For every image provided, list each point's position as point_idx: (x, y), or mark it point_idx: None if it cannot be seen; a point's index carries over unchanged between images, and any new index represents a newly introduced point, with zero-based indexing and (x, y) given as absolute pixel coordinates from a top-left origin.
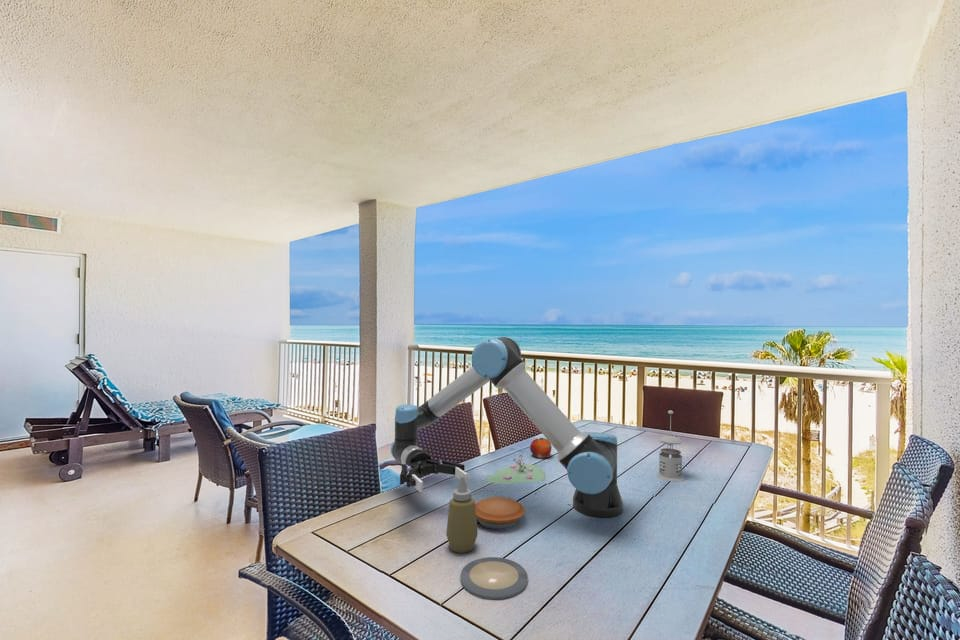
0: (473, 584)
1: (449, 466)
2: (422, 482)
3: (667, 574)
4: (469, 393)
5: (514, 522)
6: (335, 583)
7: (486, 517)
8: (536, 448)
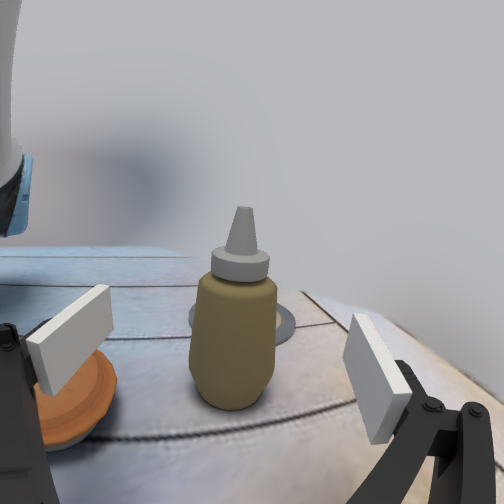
0: (282, 317)
1: (22, 387)
2: (355, 316)
3: (88, 257)
4: None
5: None
6: (481, 388)
7: (109, 374)
8: None
